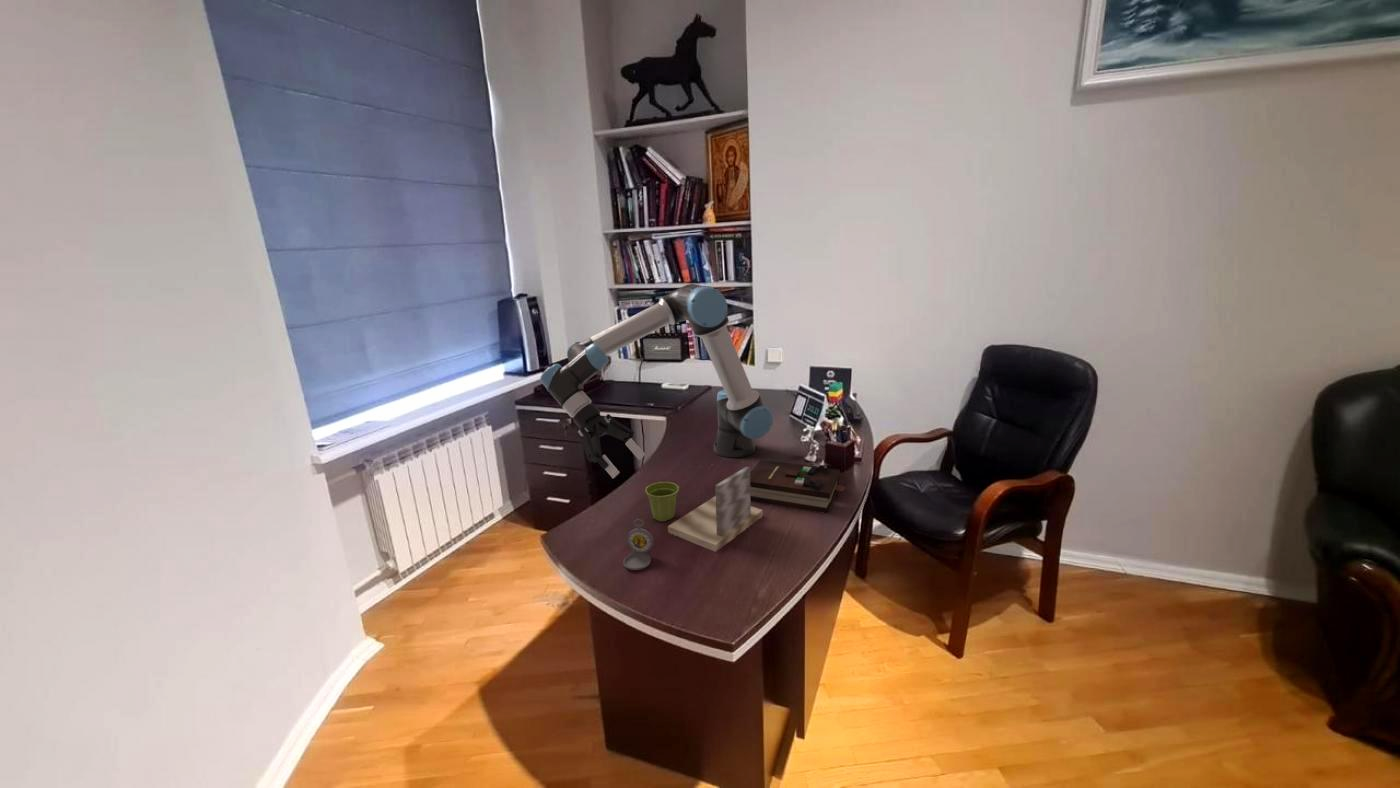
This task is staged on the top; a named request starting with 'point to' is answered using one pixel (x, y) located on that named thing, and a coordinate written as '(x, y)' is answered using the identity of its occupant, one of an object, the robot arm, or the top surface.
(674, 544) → the top surface
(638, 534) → the pocket watch
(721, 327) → the robot arm
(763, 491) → the decorative book
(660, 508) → the plant pot
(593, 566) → the top surface
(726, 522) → the shelf board
